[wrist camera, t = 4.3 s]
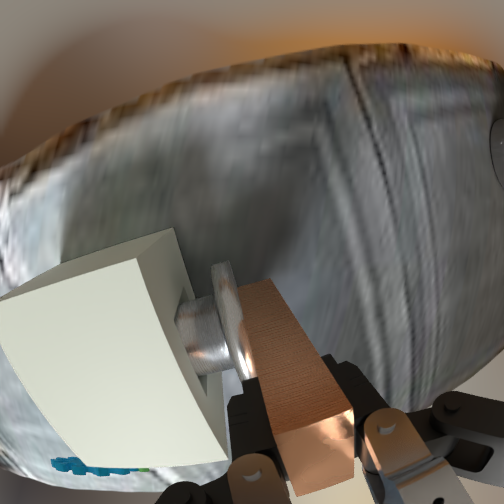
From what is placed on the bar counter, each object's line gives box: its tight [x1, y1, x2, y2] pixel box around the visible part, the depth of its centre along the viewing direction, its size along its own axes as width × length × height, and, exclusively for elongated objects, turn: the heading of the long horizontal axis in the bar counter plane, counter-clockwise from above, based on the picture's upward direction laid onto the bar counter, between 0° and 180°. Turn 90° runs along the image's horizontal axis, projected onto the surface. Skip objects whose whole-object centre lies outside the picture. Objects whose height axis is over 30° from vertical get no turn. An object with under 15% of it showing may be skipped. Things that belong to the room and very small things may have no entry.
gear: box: [51, 457, 149, 476], centre depth 20 cm, size 11×6×10 cm
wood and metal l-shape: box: [173, 261, 354, 497], centre depth 12 cm, size 9×8×14 cm
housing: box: [0, 228, 228, 468], centre depth 15 cm, size 10×12×10 cm
